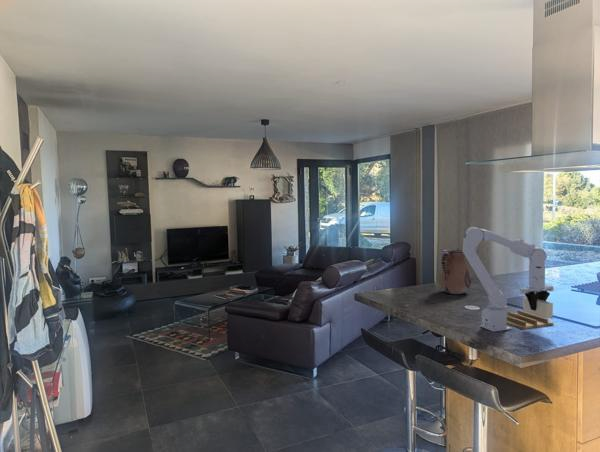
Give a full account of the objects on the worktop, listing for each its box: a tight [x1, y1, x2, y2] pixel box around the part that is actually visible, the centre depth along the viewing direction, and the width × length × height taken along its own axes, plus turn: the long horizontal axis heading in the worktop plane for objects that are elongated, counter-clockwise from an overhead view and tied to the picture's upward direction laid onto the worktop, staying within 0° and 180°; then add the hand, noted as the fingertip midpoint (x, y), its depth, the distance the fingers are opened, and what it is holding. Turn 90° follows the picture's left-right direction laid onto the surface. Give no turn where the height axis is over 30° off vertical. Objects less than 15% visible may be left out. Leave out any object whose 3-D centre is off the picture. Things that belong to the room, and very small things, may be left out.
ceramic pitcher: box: [438, 248, 472, 295], centre depth 244 cm, size 18×21×25 cm
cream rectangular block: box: [522, 296, 554, 320], centre depth 173 cm, size 3×12×6 cm, turn 14°
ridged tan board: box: [507, 309, 554, 330], centre depth 186 cm, size 16×18×2 cm
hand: (536, 309), depth 173 cm, fingers closed on cream rectangular block, 3 cm apart
